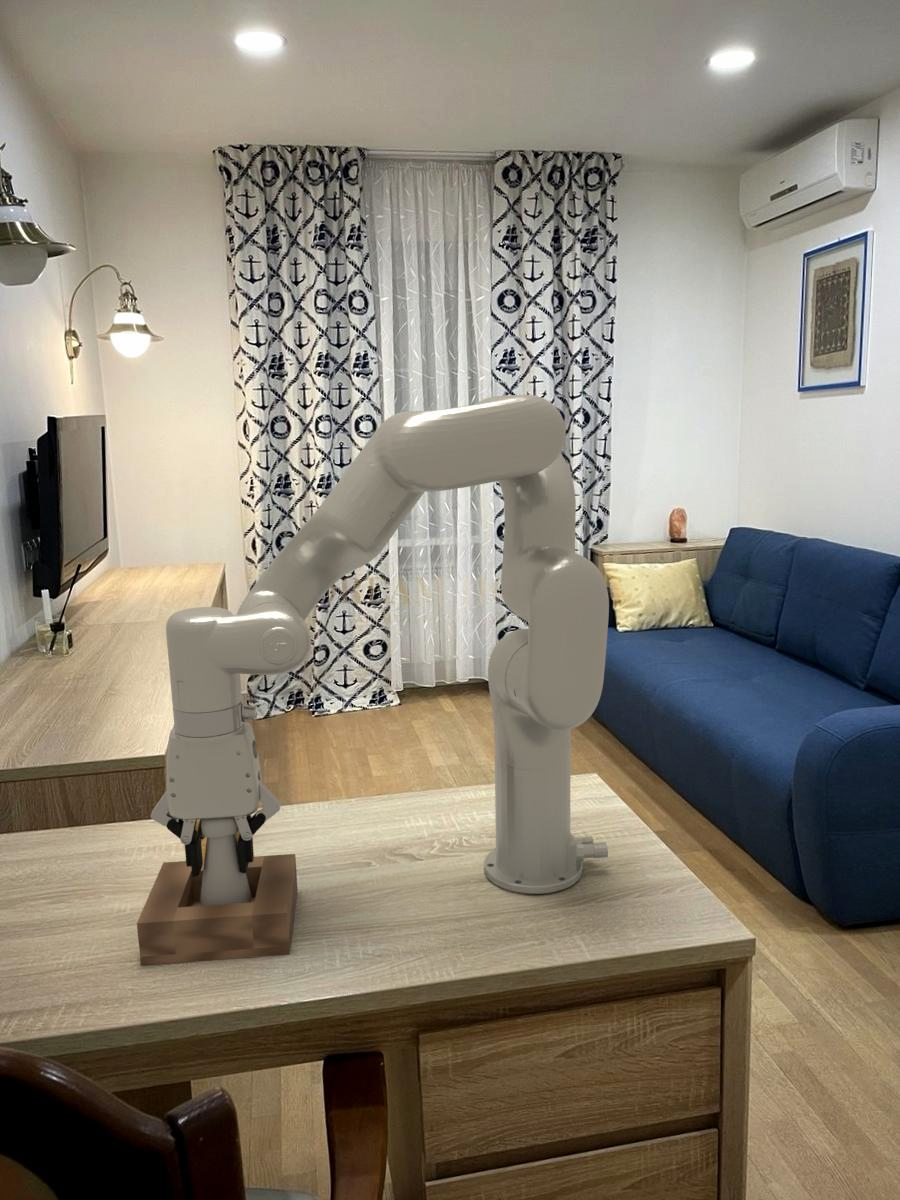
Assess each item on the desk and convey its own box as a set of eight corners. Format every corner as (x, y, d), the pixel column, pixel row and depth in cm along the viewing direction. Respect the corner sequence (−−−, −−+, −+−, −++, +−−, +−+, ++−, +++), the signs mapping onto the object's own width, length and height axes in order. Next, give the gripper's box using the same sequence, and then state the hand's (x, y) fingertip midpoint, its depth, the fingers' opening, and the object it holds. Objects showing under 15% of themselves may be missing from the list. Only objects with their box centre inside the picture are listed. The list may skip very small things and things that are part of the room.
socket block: (297, 890, 117) (295, 853, 116) (289, 954, 103) (286, 912, 102) (166, 899, 115) (163, 862, 114) (140, 965, 102) (136, 923, 101)
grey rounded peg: (240, 932, 106) (232, 825, 103) (193, 928, 107) (184, 822, 104) (260, 906, 111) (252, 804, 109) (215, 902, 112) (206, 801, 110)
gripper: (288, 704, 109) (297, 849, 112) (138, 712, 107) (153, 859, 111) (283, 725, 101) (293, 880, 105) (122, 734, 100) (138, 890, 103)
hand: (221, 867), depth 108 cm, fingers open, 4 cm apart
